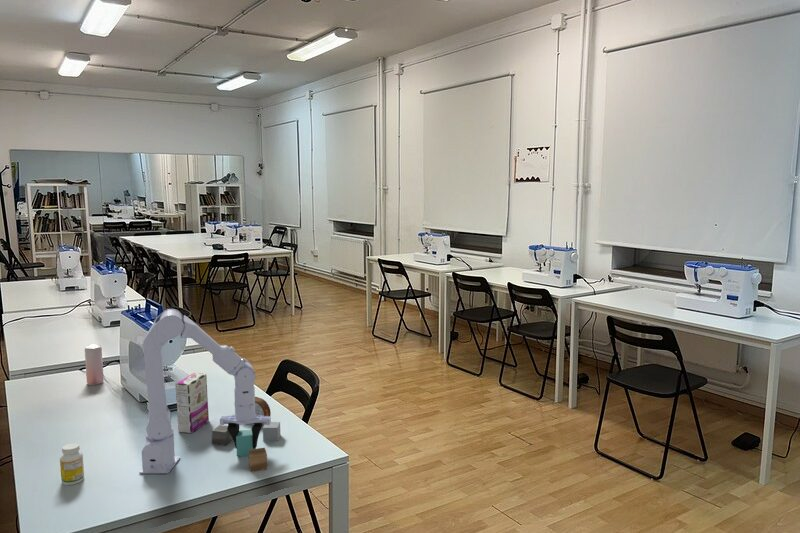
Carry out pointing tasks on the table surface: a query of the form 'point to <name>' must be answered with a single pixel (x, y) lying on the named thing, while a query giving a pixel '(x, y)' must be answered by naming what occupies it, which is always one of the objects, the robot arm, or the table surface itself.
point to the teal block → (244, 442)
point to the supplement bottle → (71, 464)
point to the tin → (261, 407)
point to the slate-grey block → (271, 431)
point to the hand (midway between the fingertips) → (246, 447)
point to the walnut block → (257, 459)
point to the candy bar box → (192, 402)
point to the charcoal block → (221, 436)
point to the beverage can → (94, 364)
